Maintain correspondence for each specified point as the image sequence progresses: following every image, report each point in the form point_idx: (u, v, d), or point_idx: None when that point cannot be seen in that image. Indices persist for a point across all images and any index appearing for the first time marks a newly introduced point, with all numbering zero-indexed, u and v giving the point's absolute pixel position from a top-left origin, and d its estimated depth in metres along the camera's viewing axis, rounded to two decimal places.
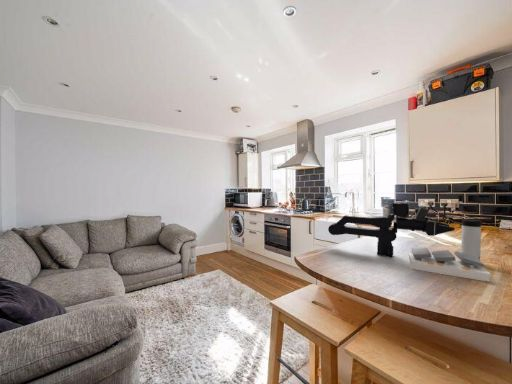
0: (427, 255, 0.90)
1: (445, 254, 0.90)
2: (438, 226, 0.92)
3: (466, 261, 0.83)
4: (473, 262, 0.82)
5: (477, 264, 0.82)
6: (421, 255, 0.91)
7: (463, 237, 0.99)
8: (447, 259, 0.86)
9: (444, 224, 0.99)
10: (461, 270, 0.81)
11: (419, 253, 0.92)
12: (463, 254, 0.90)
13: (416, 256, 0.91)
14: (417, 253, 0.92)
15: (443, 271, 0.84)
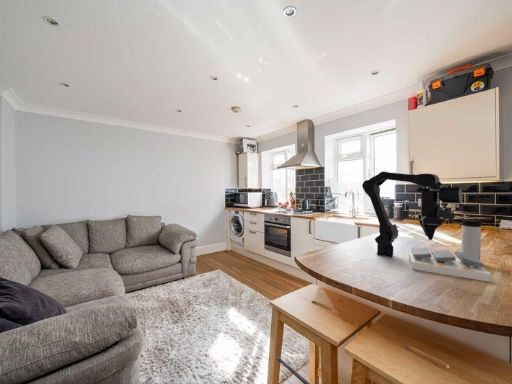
0: (427, 255, 0.90)
1: (445, 254, 0.90)
2: (433, 227, 0.88)
3: (466, 261, 0.83)
4: (473, 262, 0.82)
5: (477, 264, 0.82)
6: (421, 255, 0.91)
7: (463, 237, 0.99)
8: (447, 259, 0.86)
9: None
10: (461, 270, 0.81)
11: (419, 253, 0.92)
12: (463, 254, 0.90)
13: (416, 256, 0.91)
14: (417, 253, 0.92)
15: (443, 271, 0.84)
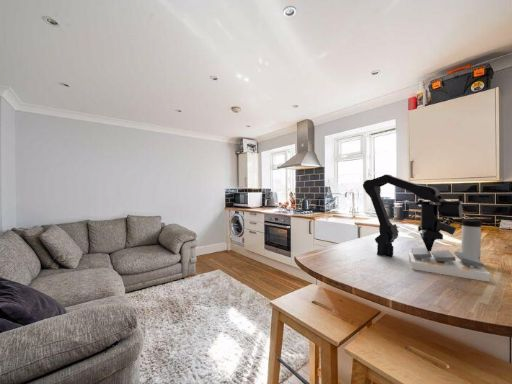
0: (427, 255, 0.89)
1: (445, 254, 0.90)
2: (432, 239, 0.92)
3: (466, 261, 0.83)
4: (473, 262, 0.82)
5: (477, 264, 0.82)
6: (421, 255, 0.91)
7: (463, 237, 0.99)
8: (447, 259, 0.86)
9: None
10: (461, 270, 0.81)
11: (419, 253, 0.92)
12: (463, 254, 0.90)
13: (416, 256, 0.91)
14: (417, 253, 0.92)
15: (443, 271, 0.84)
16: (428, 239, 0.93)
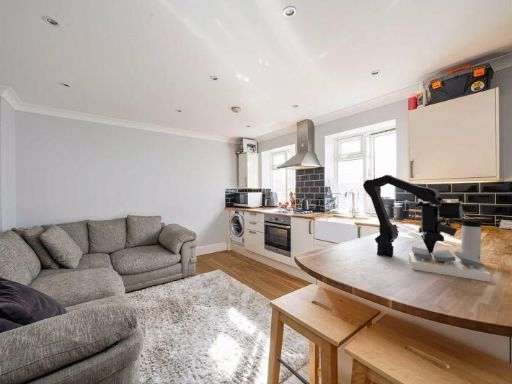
0: (428, 256, 0.89)
1: (445, 254, 0.90)
2: (433, 241, 0.91)
3: (466, 261, 0.83)
4: (473, 262, 0.82)
5: (477, 264, 0.82)
6: (422, 255, 0.90)
7: (463, 237, 0.99)
8: (447, 259, 0.86)
9: None
10: (461, 270, 0.81)
11: (420, 253, 0.92)
12: (463, 254, 0.90)
13: (417, 255, 0.91)
14: (418, 252, 0.92)
15: (443, 271, 0.84)
16: (429, 241, 0.92)
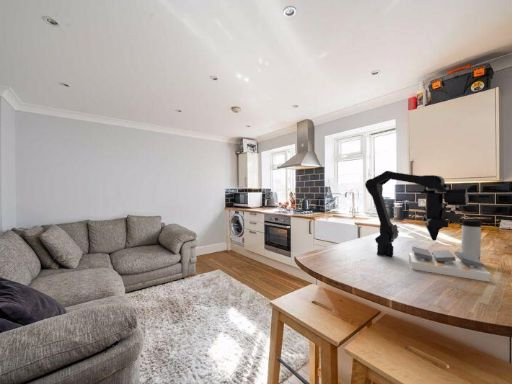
0: (428, 257, 0.89)
1: (445, 254, 0.90)
2: (437, 228, 0.91)
3: (466, 261, 0.83)
4: (473, 262, 0.82)
5: (477, 264, 0.82)
6: (422, 255, 0.90)
7: (463, 237, 0.99)
8: (447, 259, 0.86)
9: None
10: (461, 270, 0.81)
11: (421, 253, 0.92)
12: (463, 254, 0.90)
13: (417, 254, 0.91)
14: (419, 252, 0.92)
15: (443, 271, 0.84)
16: (433, 228, 0.91)
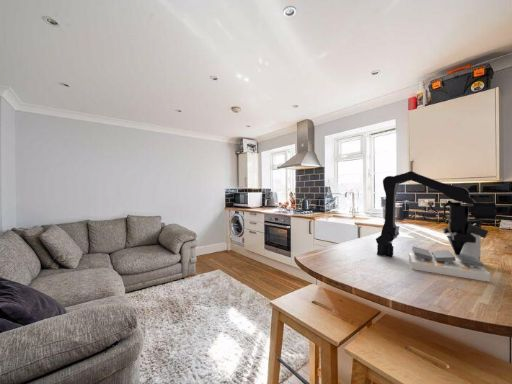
0: (428, 257, 0.89)
1: (445, 254, 0.90)
2: (461, 242, 0.87)
3: (466, 262, 0.83)
4: (473, 262, 0.82)
5: (477, 264, 0.82)
6: (422, 255, 0.90)
7: None
8: (447, 259, 0.86)
9: None
10: (461, 270, 0.81)
11: (421, 253, 0.92)
12: (463, 254, 0.90)
13: (417, 254, 0.91)
14: (419, 252, 0.92)
15: (443, 271, 0.84)
16: (457, 242, 0.88)
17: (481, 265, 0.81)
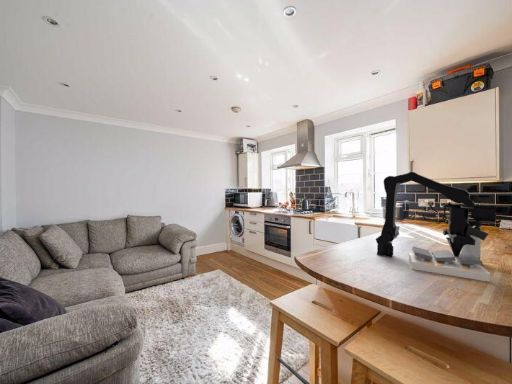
0: (428, 257, 0.89)
1: (445, 254, 0.90)
2: (460, 244, 0.87)
3: (465, 263, 0.83)
4: (472, 262, 0.82)
5: (476, 263, 0.82)
6: (422, 255, 0.90)
7: None
8: (447, 259, 0.86)
9: None
10: (461, 270, 0.81)
11: (421, 253, 0.92)
12: (461, 254, 0.90)
13: (417, 254, 0.91)
14: (419, 252, 0.92)
15: (443, 271, 0.84)
16: (456, 244, 0.88)
17: (480, 263, 0.81)
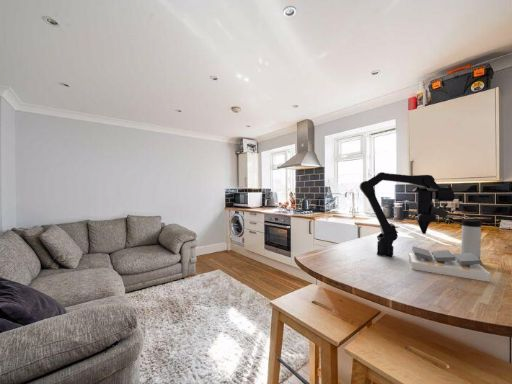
0: (428, 257, 0.89)
1: (445, 254, 0.90)
2: (426, 222, 1.00)
3: (465, 263, 0.83)
4: (471, 262, 0.82)
5: (476, 262, 0.82)
6: (422, 255, 0.90)
7: (463, 237, 0.99)
8: (447, 259, 0.86)
9: None
10: (461, 270, 0.81)
11: (421, 253, 0.92)
12: (461, 255, 0.90)
13: (417, 254, 0.91)
14: (419, 252, 0.92)
15: (443, 271, 0.84)
16: (423, 223, 1.01)
17: (480, 262, 0.81)
